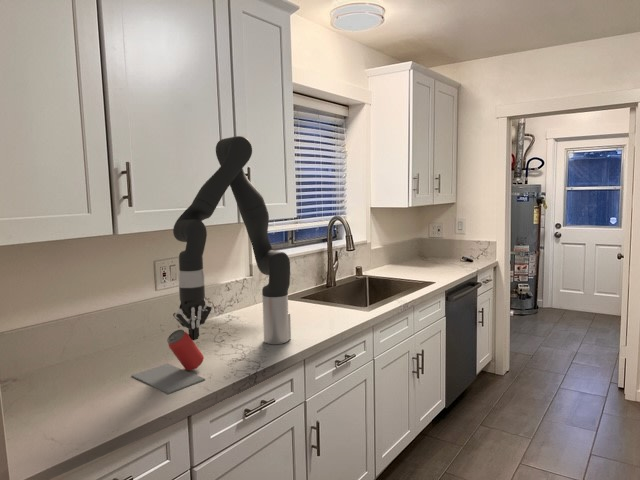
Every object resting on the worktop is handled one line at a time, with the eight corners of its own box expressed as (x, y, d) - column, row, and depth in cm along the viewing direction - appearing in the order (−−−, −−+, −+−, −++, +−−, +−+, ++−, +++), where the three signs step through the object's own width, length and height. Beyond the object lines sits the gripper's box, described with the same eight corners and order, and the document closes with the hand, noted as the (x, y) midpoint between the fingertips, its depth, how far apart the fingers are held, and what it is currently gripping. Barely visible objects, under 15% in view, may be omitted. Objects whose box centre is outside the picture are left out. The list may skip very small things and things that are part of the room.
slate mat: (167, 364, 147) (167, 363, 147) (205, 379, 135) (205, 378, 134) (131, 376, 138) (131, 375, 138) (168, 394, 125) (168, 392, 125)
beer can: (183, 363, 146) (164, 336, 140) (202, 351, 147) (183, 324, 141) (187, 375, 140) (166, 347, 134) (206, 363, 141) (187, 335, 136)
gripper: (202, 279, 149) (204, 332, 150) (165, 286, 139) (168, 342, 140) (217, 282, 144) (218, 336, 145) (179, 289, 134) (182, 347, 135)
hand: (194, 339), depth 143 cm, fingers closed
